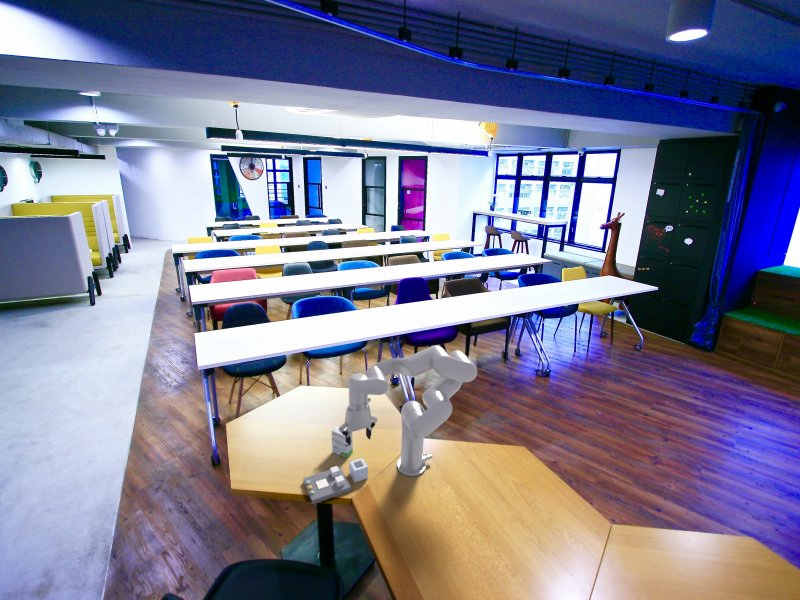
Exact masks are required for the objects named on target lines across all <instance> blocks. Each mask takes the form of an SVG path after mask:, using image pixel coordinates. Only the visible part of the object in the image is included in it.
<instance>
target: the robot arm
mask: <svg viewBox="0 0 800 600" xmlns="http://www.w3.org/2000/svg"><path fill="white" fill-rule="evenodd" d="M432 370H433V372H435V373H436V374H437V375H439V376H441V377H440V378H439V380H437V381H436V382H434V383H433V384H432V385H430V387H428V389H426V390H425V391H424V392H423V394H422V397H421V398H422V402H423V404H424V406H425V407H426V409H425V408H424V407H423V405H422V404H421V403H420V402H419V401H416V400H409V401H407V402H405V403H404V405H403V406H402V408H401V412H400V420H401V446H400V447H401V448H400V458H398V460H397V462H396V463H397V464H396V467H397V470H398V472H400V473H401V474H402V475H405V476H408V477H417V476H420V475H421V474H423V473H424V472H425V471H426V469H427V468H426V466H427V464H426V462H427V461H429V460H432V459H433V456H432V454H427V452H424V441H425V439H424V438H426V437H427V436H429V435H430V434H432V432H434V431H435V430H436V429H438V428H439V427H440V426H441V425H443V423H445V422H446V421H447V420H448V419H449V418H450V416H452V412H453V405H452V402H451V401H450V399H451V397H453V396H454V395H455V394H456V393H457V392H458V391H459V390H460V388H461V387H462V385H463V383H469V382H472V381H474V380H475V379H476V377H477V375H478V368H477V366H476V364H475V363H474V362H473V361H472V360H471V359H470V358H469V357H468V356H467V355H466V354H465V353H464V352H463V351H461V350H459V349H456V350H453V351H452V352H450V354H449V353H448V352H447V351H446V349H444V348H443V347H442V346H440V345H432V346H429V347H427V348H424V349H423V350H420V351H418V352H415V353H413V354H412V355H409V356H406V357H397V358H389V359H387V358H386V359H384V360H382V361H378V362H377V363H374V364H373V365H371V366H369V367H368V368H367V370H366V371H365V374H364V373H359V372H358V373H353V374H351V375H350V376H349V378H348V406H347V407H346V410H345V416H344V423H343V424H341V426H340V425H339V426H340V427H339V428H338V429H339V431H340V432H341V433H342V434H343V435H345V439H346V443H348V445H351V437H350V435H351V433H352V434H353V433H354V432H356V431H361V430H364V429H365V436H366V437H367V439H368V440H371V436H372V431H373V428H375V426H376V423H377V422H378V420H379V418H378V417H376V416H373V415H372V411H371V408H370V404H369V402H371V401H372V399H371V398H370V397H369V395H370V396H371V395H372V396H383V395H385V394H386V393H387V392H388V391H389V387H390V385H389V382H388V380H387V377H388V376H392V375H395V374H396V375H397V374H398V375H404V376H407V377H410V378H417V377H418V376H419V375H422V374H423V375H424V374H425V373H427V372H429V371H432ZM344 429H346V430H345V431H344ZM348 431H349V432H348Z"/></svg>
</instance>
